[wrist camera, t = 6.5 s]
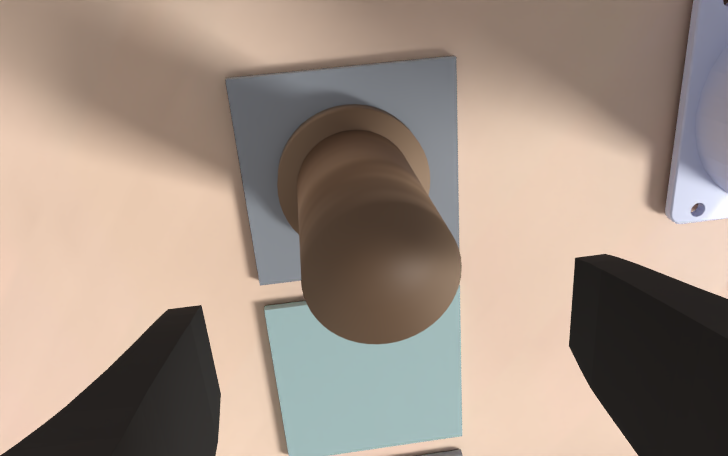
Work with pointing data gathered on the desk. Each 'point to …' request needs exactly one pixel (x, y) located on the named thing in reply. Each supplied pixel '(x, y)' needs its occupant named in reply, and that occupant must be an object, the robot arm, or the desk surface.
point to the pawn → (367, 225)
